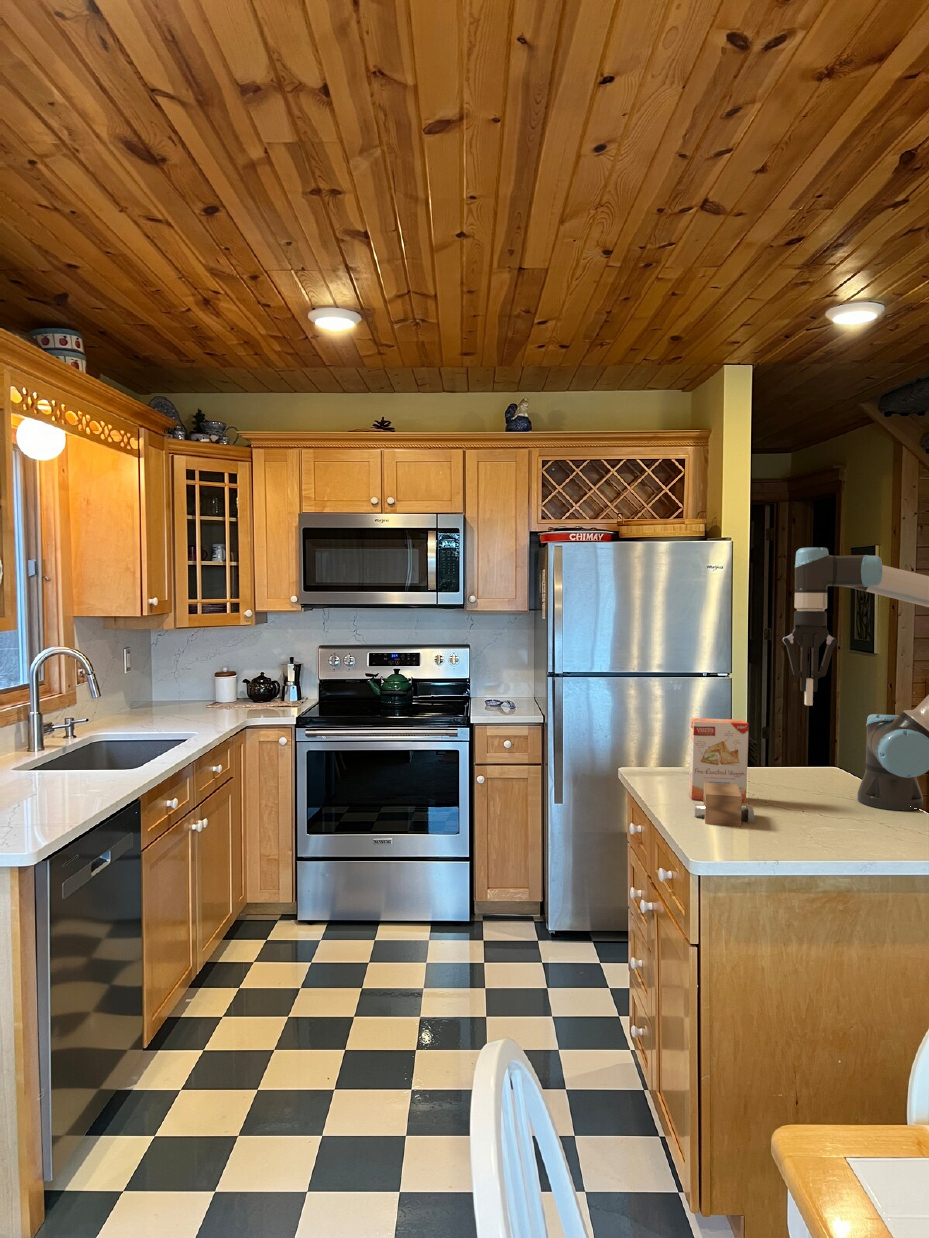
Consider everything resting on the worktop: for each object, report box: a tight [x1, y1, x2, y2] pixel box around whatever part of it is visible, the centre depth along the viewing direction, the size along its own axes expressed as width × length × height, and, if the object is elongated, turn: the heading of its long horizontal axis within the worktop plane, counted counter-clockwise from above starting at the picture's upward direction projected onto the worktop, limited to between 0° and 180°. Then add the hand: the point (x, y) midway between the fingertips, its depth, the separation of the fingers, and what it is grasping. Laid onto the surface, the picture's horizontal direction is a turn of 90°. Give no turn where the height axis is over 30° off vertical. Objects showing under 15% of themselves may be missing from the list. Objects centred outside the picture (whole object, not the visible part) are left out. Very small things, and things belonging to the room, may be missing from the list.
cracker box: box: [688, 717, 750, 803], centre depth 219 cm, size 14×6×21 cm, turn 83°
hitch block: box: [702, 783, 743, 827], centre depth 201 cm, size 8×12×7 cm, turn 166°
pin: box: [694, 803, 755, 825], centre depth 201 cm, size 13×6×3 cm, turn 77°
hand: (808, 704), depth 209 cm, fingers closed
